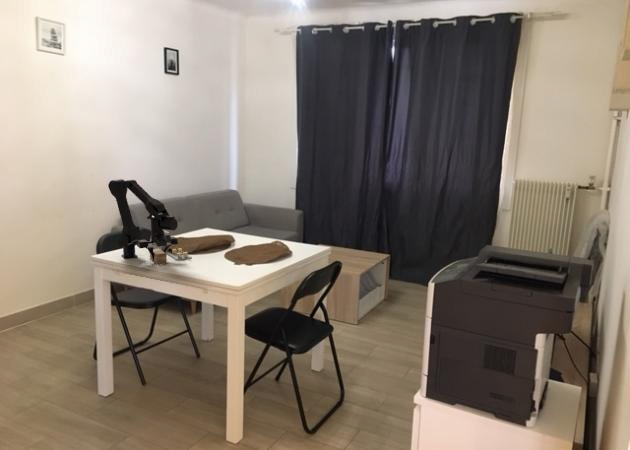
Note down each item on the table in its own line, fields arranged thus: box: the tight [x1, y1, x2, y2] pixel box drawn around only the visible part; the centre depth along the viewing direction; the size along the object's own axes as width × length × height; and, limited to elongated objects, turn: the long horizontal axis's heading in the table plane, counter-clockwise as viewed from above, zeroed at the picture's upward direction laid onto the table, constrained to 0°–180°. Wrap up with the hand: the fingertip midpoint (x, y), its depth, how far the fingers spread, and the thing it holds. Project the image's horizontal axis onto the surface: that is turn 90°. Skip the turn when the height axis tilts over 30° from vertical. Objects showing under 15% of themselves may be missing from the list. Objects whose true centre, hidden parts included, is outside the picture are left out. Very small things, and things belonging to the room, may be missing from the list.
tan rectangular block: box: [149, 248, 168, 266], centre depth 249 cm, size 12×4×5 cm, turn 34°
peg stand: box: [168, 248, 192, 261], centre depth 258 cm, size 12×8×3 cm, turn 34°
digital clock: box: [149, 229, 172, 251], centre depth 271 cm, size 16×9×11 cm, turn 35°
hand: (158, 259), depth 249 cm, fingers closed on tan rectangular block, 4 cm apart
